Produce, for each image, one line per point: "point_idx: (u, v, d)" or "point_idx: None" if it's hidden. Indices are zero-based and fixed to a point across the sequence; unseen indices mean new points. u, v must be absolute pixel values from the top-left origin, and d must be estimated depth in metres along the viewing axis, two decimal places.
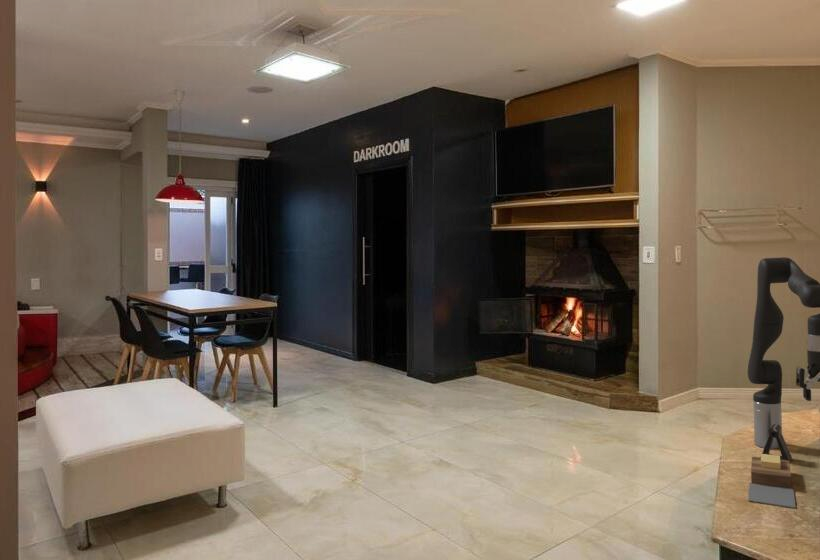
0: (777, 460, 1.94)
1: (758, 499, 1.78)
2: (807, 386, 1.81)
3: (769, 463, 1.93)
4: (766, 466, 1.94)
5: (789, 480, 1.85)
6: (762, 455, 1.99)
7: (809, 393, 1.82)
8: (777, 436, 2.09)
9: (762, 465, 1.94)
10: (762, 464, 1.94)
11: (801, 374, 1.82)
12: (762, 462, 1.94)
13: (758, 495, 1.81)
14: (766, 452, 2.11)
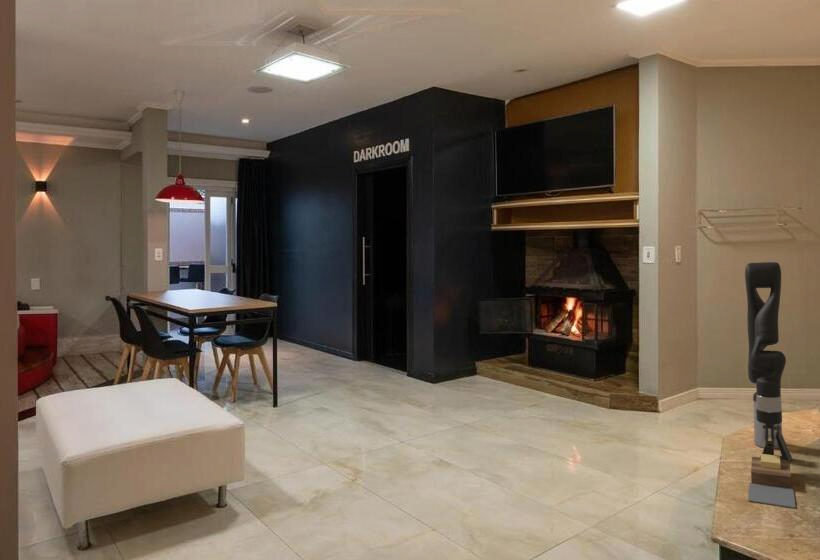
0: (777, 460, 1.94)
1: (758, 499, 1.78)
2: None
3: (769, 463, 1.93)
4: (766, 466, 1.94)
5: (789, 480, 1.85)
6: (762, 455, 1.99)
7: (773, 451, 2.00)
8: (777, 436, 2.09)
9: (762, 465, 1.94)
10: (762, 464, 1.94)
11: (774, 440, 1.96)
12: (762, 462, 1.94)
13: (758, 495, 1.81)
14: None
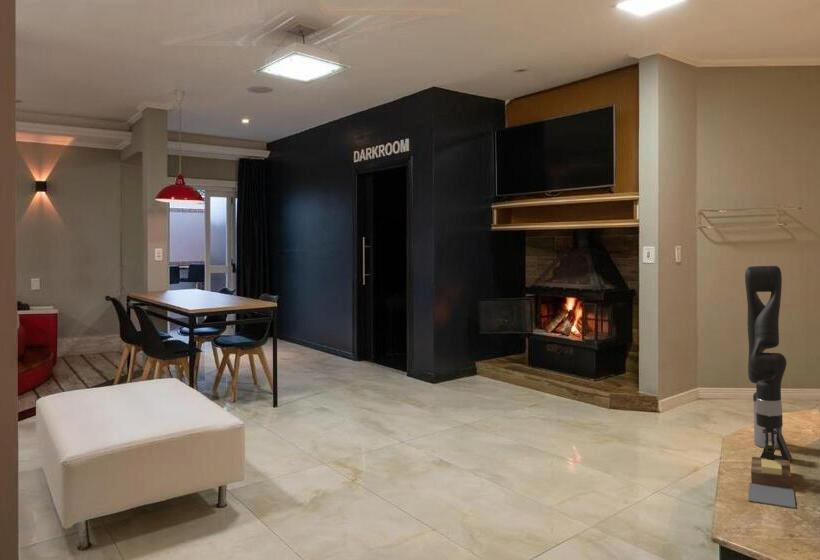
0: (778, 466, 1.89)
1: (758, 499, 1.78)
2: (774, 450, 1.95)
3: (770, 469, 1.88)
4: (767, 472, 1.89)
5: (789, 480, 1.85)
6: (762, 460, 1.94)
7: None
8: (777, 436, 2.09)
9: (763, 471, 1.89)
10: (763, 470, 1.89)
11: (774, 445, 1.91)
12: (763, 468, 1.89)
13: (758, 495, 1.81)
14: None
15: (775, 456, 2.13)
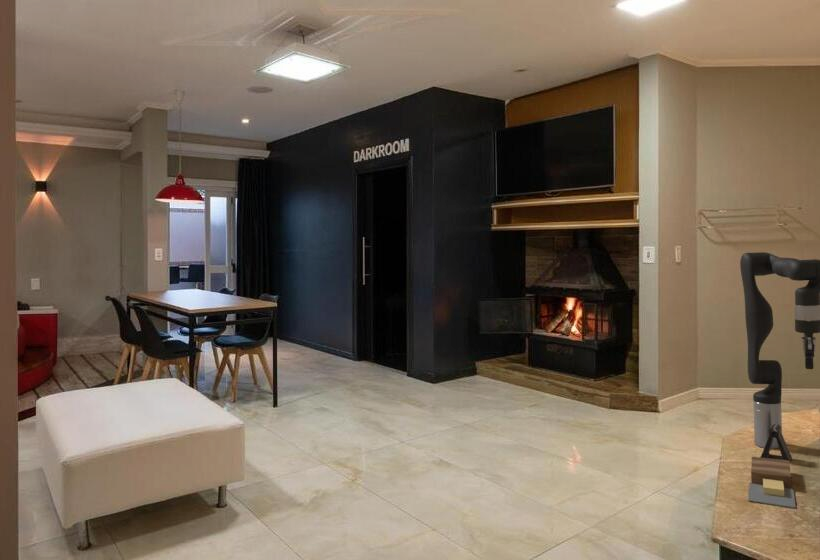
0: (781, 487, 1.82)
1: (758, 499, 1.78)
2: None
3: (772, 489, 1.81)
4: (769, 493, 1.81)
5: (789, 480, 1.85)
6: (764, 480, 1.87)
7: (812, 362, 1.98)
8: (777, 436, 2.09)
9: (765, 492, 1.82)
10: (765, 490, 1.82)
11: (814, 349, 1.94)
12: (765, 488, 1.82)
13: (758, 495, 1.81)
14: (766, 452, 2.11)
15: (775, 456, 2.13)
